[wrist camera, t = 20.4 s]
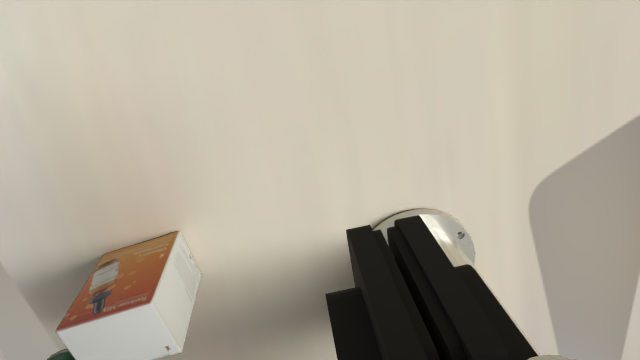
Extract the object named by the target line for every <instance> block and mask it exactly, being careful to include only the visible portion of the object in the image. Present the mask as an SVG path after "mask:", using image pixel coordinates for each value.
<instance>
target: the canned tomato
mask: <svg viewBox="0 0 640 360" xmlns="http://www.w3.org/2000/svg"><path fill="white" fill-rule="evenodd" d="M47 360H76V359H75V358H74V357H73V355H72V354H71V353H70V351H69V350H68V349H66V350H62V351H59V352H57V353H55V354H53V355H52V356H50V357H49V358H48V359H47Z"/></svg>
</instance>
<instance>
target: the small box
mask: <svg viewBox="0 0 640 360" xmlns="http://www.w3.org/2000/svg"><path fill="white" fill-rule="evenodd" d="M200 278H201V273H200V271H199V269H198V267H197V265H196V263H195V261H194V259H193V257H192V255H191V253H190V251H189V249H188V247H187V245H186V243H185V241H184V239H183V237H182V235H181V233H180V232H179V231H177V232H174V233H171V234H168V235H165V236H163V237H159V238H156V239H153V240H150V241H146V242H143V243H140V244H136V245H133V246H129V247H126V248H123V249H119V250H116V251H112V252H109V253H106V254H104V255H103V257H102V258H101V260H100V261H99V263H98V265H97V266H96V268H95V269H94V271H93V272H92V274H91V276H90V277H89V279H88V280H87V282H86V283H85V285H84V287H83V288H82V290H81V291H80V293H79V295H78V296H77V298H76V299H75V301H74V302H73V304H72V306H71V307H70V309H69V310H68V312H67V314H66V315H65V317H64V318H63V320H62V321H61V323H60V324H59V326H58V328H57V329H56V333H57V335H58V336H59V337H60V339H61V340H62V342H63V343H64V345H65V346H66V347H67V349H68V350H69V351H70V353H71V354H72V355H73V357H74V358H75V359H76V360H155V359H158V358H162V357H165V356H169V355H174V354H178V353H181V352H182V350H183V346H184V342H185V338H186V334H187V330H188V326H189V322H190V318H191V314H192V310H193V305H194V302H195V298H196V294H197V290H198V286H199V282H200Z"/></svg>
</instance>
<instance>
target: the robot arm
mask: <svg viewBox="0 0 640 360" xmlns="http://www.w3.org/2000/svg"><path fill="white" fill-rule="evenodd" d="M346 233H347V240H348V246H349V252H350V257H351V263H352V269H353V275H354V281H355V287H356V288H352V289H347V290H342V291H337V292H333V293H328V294H326V299H327V305H328V310H329V316H330V321H331V326H332V332H333V337H334V343H335V348H336V354H337V359H338V360H575V359H571V358H567V357H563V356H559V355H540V354H539V353H538V351H537V350H536V349H535V347H534V346H533V345H532V343H531V342H530V341H529V339H528V338H527V337H526V335H525V334H524V332H523V331H522V330H521V328H520V327H519V326H518V324H517V323H516V322H515V320H514V319H513V318H512V316H511V315H510V314H509V312H508V311H507V309H506V308H505V307H504V305H503V304H502V303H501V301H500V300H499V299H498V297H497V296H496V295H495V293H494V292H493V291H492V289H491V288H490V287H489V285H488V284H487V283H486V281H485V280H484V278H483V277H482V276H481V274H480V273H479V272H478V270H477V269H476V268H475V266H474V264H475V247H474V243H473V240H472V238H471V236H470V234H469V233H468V231H467V230H466V229H465V227H464V226H463V225H462V224H461V223H460V222H459V221H458V220H456V219H455V218H454V217H452V216H451V215H448V214H446V213H443V212H441V211H436V210H431V209H417V210H410V211H406V212H403V213H400V214H397V215H394V216H392V217H390V218H389V219H387V220H385V221H383V222H382V223H381V224H380V225H378V226H377V227H376V228H375V229H374V230H373V231H372V228H371V226H370V225H367V226H362V227H357V228H353V229H348V230H346Z"/></svg>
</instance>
